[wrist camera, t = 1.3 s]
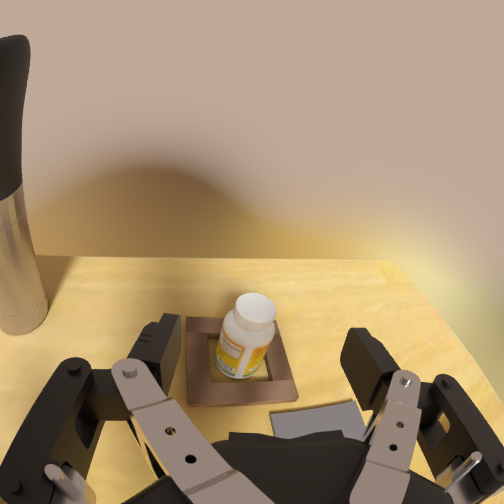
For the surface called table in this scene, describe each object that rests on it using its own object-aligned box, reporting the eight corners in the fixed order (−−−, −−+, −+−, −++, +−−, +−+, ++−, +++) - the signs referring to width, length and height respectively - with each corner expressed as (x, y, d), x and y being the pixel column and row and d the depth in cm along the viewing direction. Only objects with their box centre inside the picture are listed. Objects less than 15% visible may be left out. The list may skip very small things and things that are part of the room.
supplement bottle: (213, 377, 28) (226, 323, 23) (215, 341, 33) (228, 283, 28) (260, 382, 29) (286, 330, 24) (258, 346, 33) (279, 291, 28)
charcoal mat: (291, 506, 16) (293, 506, 16) (269, 415, 25) (270, 414, 25) (381, 476, 19) (383, 475, 19) (353, 402, 28) (355, 400, 28)
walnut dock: (188, 405, 24) (188, 402, 24) (186, 321, 34) (186, 316, 33) (295, 401, 27) (299, 397, 27) (273, 325, 37) (275, 320, 37)
